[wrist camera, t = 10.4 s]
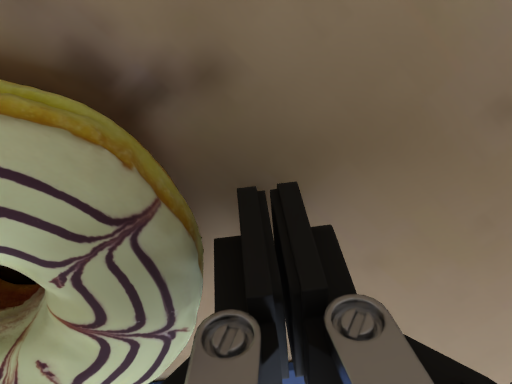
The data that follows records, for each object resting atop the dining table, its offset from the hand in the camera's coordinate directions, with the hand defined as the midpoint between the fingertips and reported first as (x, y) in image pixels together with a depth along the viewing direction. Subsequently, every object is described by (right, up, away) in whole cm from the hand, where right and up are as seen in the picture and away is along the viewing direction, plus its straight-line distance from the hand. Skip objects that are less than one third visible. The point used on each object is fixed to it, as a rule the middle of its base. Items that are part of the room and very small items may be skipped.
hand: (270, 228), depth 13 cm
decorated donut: (-7, 0, +1) cm, 7 cm away
